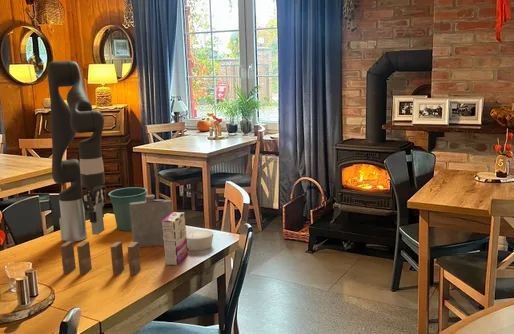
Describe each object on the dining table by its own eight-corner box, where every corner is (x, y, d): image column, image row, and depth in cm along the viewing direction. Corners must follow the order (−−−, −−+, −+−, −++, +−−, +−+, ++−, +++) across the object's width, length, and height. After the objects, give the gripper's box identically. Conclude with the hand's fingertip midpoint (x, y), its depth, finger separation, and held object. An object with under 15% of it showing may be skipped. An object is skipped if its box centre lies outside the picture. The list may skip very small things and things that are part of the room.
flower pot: (135, 234, 220) (132, 197, 217) (103, 231, 226) (100, 195, 223) (157, 223, 235) (154, 188, 232) (127, 220, 241) (124, 186, 238)
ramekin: (179, 246, 203) (178, 233, 202) (204, 240, 210) (203, 227, 209) (194, 254, 194) (193, 240, 193) (219, 247, 201) (218, 234, 200)
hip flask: (133, 248, 203) (128, 198, 199) (133, 244, 207) (129, 195, 203) (174, 244, 206) (170, 195, 202) (174, 240, 210) (170, 192, 206)
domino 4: (113, 274, 177) (110, 246, 176) (118, 269, 182) (116, 241, 180) (118, 274, 177) (116, 246, 175) (124, 269, 182) (121, 241, 180)
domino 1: (63, 273, 180) (60, 246, 178) (70, 268, 185) (67, 241, 183) (68, 273, 180) (65, 246, 178) (75, 268, 185) (72, 241, 183)
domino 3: (92, 234, 176) (89, 205, 174) (98, 229, 180) (96, 202, 179) (98, 234, 175) (95, 205, 173) (104, 230, 180) (101, 202, 178)
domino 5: (130, 275, 177) (127, 246, 175) (135, 269, 181) (133, 241, 180) (135, 275, 176) (133, 247, 174) (140, 269, 181) (138, 242, 179)
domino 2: (79, 274, 179) (76, 246, 177) (86, 268, 184) (83, 241, 182) (85, 274, 179) (82, 246, 177) (91, 268, 184) (89, 241, 182)
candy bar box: (175, 254, 195) (172, 211, 192) (188, 254, 194) (185, 212, 191) (164, 265, 184) (160, 220, 181) (177, 265, 183) (174, 221, 180)
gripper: (91, 166, 181) (95, 214, 185) (71, 175, 167) (76, 226, 171) (111, 166, 180) (116, 214, 183) (93, 175, 166) (98, 226, 170)
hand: (97, 219), depth 177 cm, fingers closed on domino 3, 5 cm apart
